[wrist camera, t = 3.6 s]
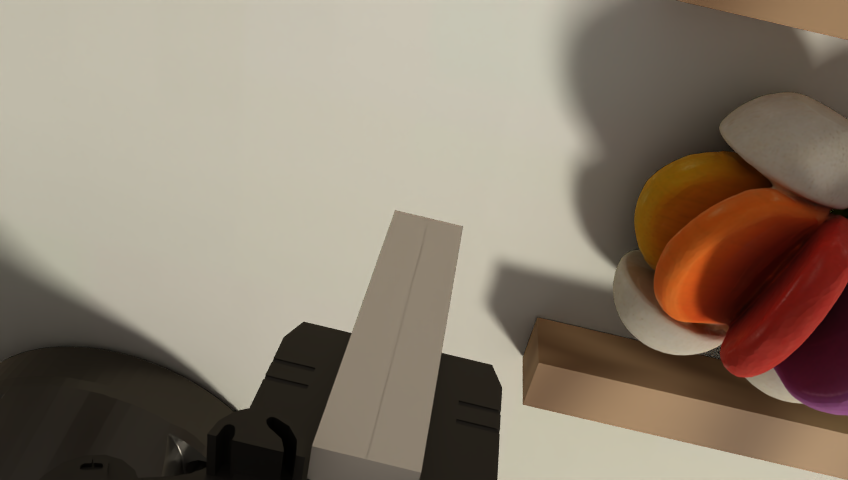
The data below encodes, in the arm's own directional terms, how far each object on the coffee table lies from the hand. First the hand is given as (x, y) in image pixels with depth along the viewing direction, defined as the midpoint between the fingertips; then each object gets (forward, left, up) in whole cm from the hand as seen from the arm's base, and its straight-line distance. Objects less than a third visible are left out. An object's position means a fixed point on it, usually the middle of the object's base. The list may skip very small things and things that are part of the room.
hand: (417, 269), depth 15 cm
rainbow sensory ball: (+11, -1, -8) cm, 13 cm away
